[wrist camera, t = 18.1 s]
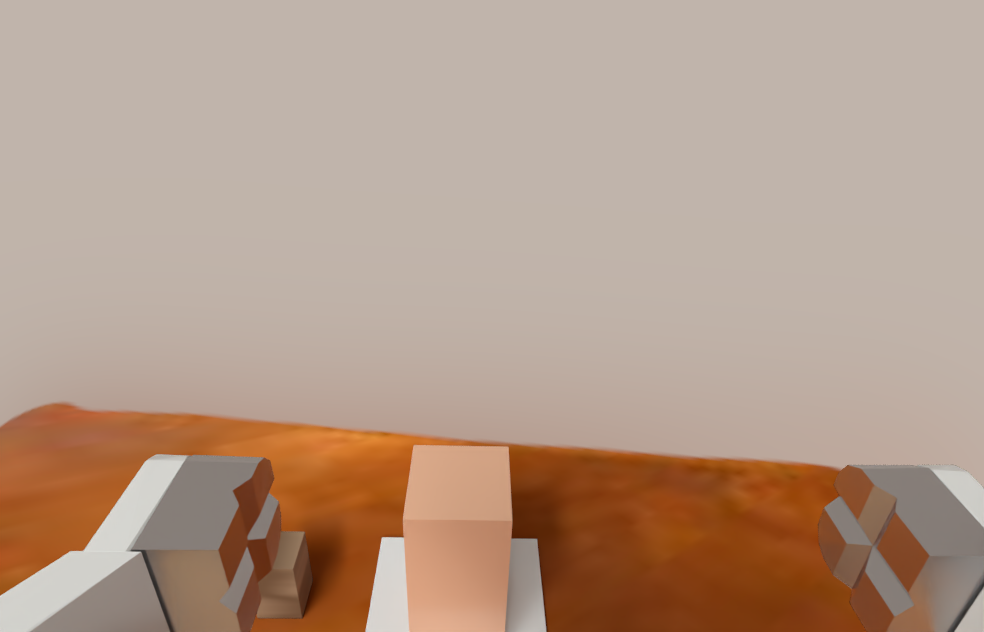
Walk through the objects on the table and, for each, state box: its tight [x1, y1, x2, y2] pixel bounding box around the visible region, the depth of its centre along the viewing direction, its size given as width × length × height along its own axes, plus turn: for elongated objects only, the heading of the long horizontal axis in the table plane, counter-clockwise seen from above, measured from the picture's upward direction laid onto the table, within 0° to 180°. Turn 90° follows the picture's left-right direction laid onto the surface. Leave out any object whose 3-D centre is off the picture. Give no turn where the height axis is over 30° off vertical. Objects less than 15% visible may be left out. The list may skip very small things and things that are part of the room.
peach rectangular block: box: [403, 445, 512, 632], centre depth 39 cm, size 6×6×12 cm
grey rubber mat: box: [366, 537, 546, 632], centre depth 42 cm, size 12×12×1 cm
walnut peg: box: [257, 531, 313, 618], centre depth 41 cm, size 3×3×5 cm
